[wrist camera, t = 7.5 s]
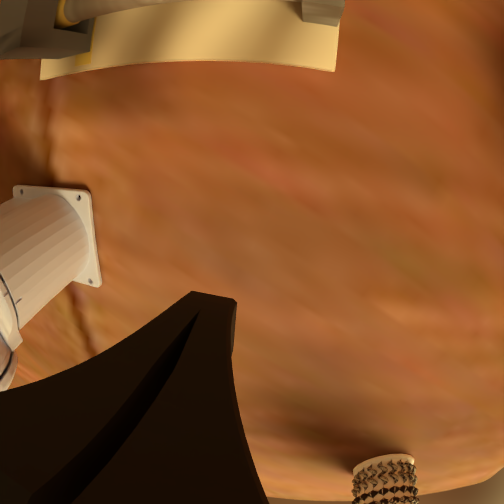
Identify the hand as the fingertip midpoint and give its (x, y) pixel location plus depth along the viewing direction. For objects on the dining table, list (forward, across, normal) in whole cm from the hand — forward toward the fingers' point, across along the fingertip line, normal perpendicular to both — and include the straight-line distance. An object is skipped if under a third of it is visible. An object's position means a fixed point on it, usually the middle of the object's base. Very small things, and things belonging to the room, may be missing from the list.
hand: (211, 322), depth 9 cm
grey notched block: (+10, +13, -12) cm, 21 cm away
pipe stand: (+10, +7, -12) cm, 18 cm away
